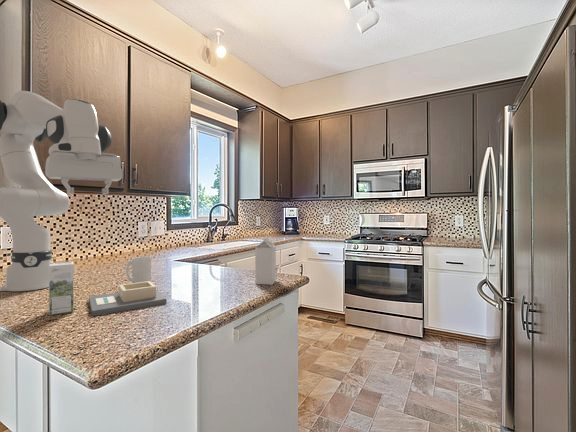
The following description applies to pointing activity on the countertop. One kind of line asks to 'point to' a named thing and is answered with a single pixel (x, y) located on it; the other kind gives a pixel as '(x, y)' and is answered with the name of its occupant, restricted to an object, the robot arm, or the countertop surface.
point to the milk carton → (265, 262)
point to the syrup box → (61, 288)
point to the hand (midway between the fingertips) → (88, 193)
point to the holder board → (127, 298)
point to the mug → (139, 269)
